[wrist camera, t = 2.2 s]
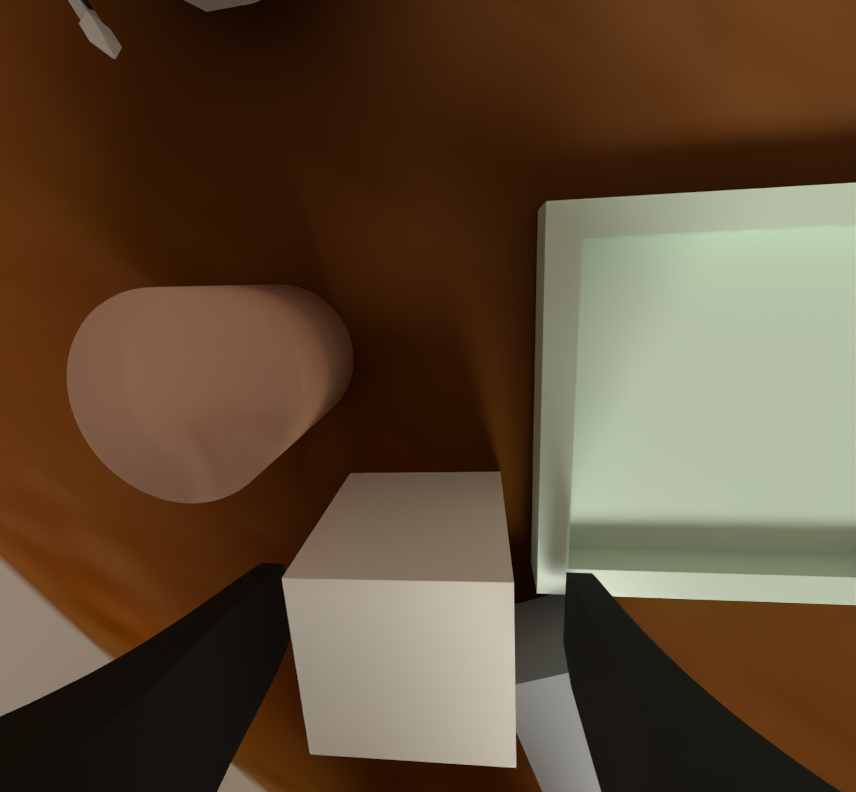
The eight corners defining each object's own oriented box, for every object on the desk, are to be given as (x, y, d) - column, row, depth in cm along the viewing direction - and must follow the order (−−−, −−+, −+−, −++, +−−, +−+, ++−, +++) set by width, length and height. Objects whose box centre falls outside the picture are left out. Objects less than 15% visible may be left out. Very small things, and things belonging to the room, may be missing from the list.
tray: (895, 572, 12) (946, 608, 11) (530, 562, 14) (536, 593, 12) (993, 184, 10) (1074, 169, 9) (537, 210, 11) (546, 201, 10)
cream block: (502, 602, 14) (516, 767, 9) (364, 599, 15) (309, 754, 10) (500, 470, 13) (514, 582, 8) (350, 472, 14) (281, 578, 9)
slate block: (630, 706, 15) (668, 810, 12) (542, 725, 15) (558, 828, 12) (585, 582, 14) (614, 662, 11) (493, 606, 14) (497, 688, 11)
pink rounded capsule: (359, 421, 13) (290, 505, 8) (230, 422, 14) (94, 502, 9) (347, 281, 12) (263, 282, 7) (208, 286, 13) (42, 291, 8)
